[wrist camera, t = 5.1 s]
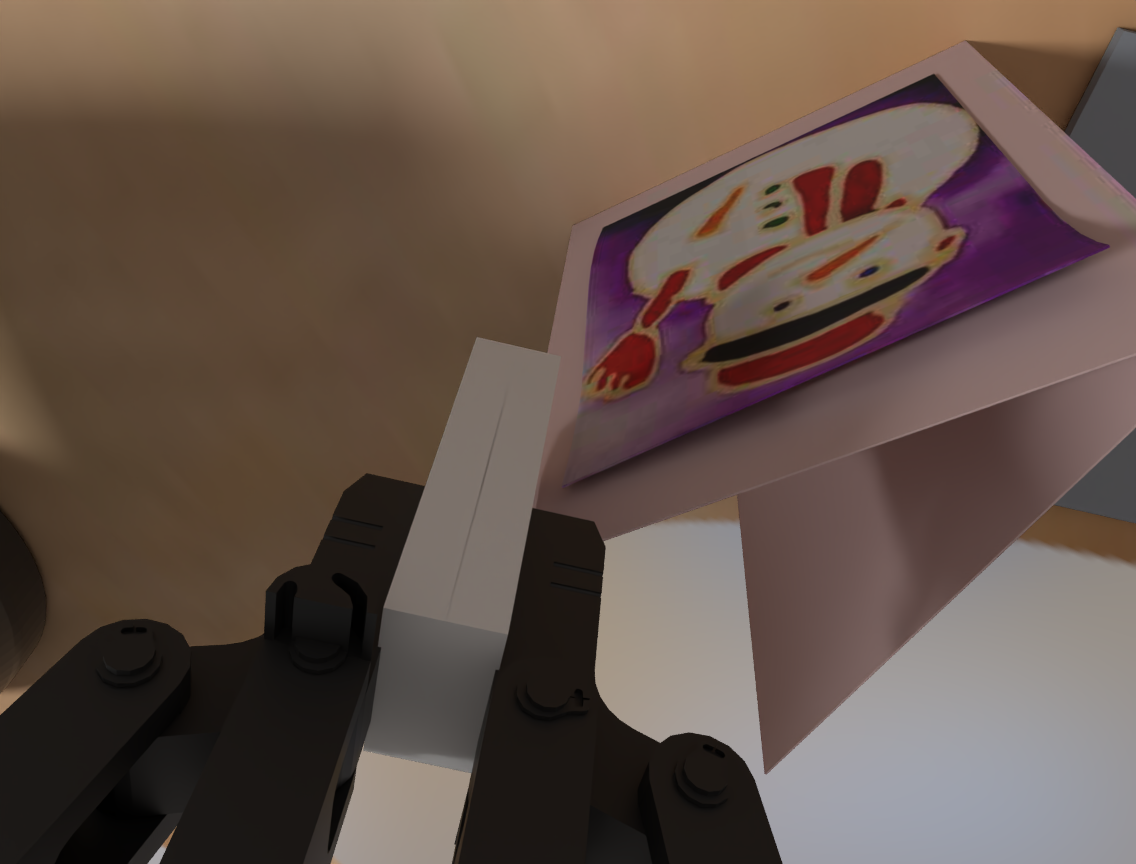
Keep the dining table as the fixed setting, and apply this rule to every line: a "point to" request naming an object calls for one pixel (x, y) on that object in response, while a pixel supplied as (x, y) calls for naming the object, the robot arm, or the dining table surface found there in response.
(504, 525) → the robot arm
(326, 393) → the dining table surface
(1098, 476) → the mat
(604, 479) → the greeting card
